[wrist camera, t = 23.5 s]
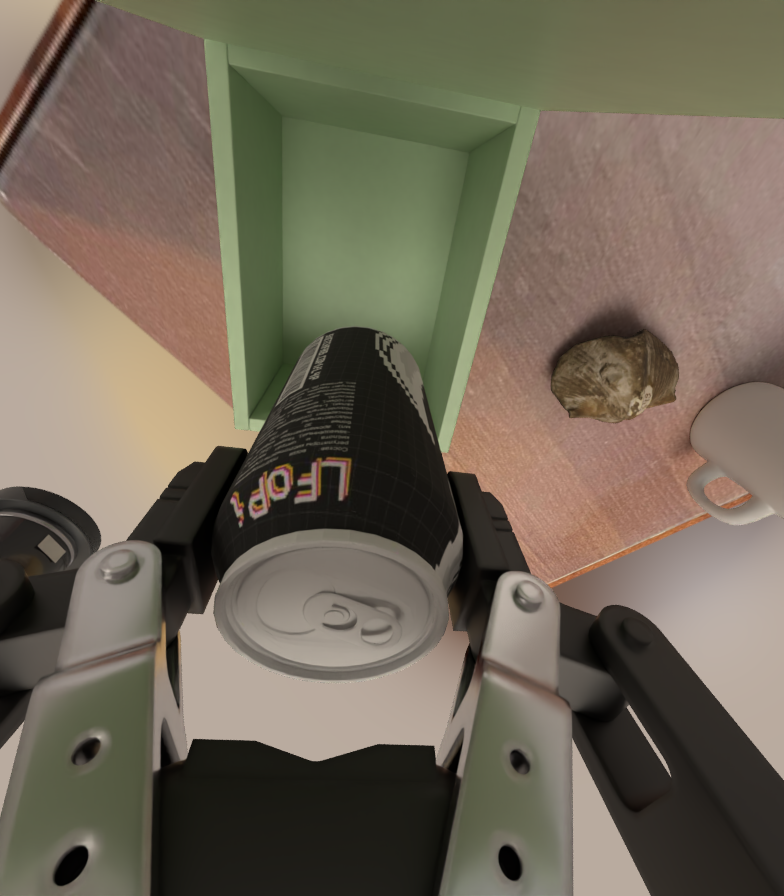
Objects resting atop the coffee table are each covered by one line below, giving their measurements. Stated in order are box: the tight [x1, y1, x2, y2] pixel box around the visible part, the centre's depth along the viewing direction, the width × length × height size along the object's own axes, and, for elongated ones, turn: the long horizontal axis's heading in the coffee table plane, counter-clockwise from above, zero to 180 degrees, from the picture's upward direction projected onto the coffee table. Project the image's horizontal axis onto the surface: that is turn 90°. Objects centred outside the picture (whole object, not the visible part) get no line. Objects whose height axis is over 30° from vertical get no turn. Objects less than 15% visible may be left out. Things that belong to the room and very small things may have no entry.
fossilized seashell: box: [551, 329, 679, 423], centre depth 32 cm, size 8×7×10 cm
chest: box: [204, 39, 541, 453], centre depth 25 cm, size 18×14×11 cm
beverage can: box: [211, 326, 463, 683], centre depth 12 cm, size 6×6×12 cm
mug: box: [687, 382, 784, 525], centre depth 33 cm, size 12×8×11 cm
